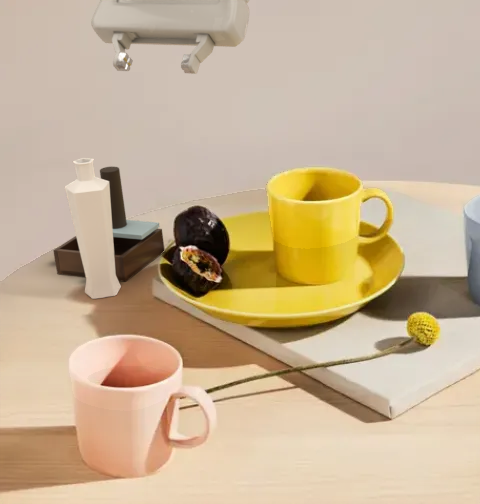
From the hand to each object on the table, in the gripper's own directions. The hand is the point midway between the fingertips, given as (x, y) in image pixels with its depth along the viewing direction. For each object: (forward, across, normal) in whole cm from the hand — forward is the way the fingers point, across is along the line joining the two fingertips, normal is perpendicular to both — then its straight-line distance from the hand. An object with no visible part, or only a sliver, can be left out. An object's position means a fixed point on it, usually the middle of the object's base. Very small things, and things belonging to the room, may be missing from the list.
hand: (154, 69), depth 117 cm
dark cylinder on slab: (+20, 0, +3) cm, 21 cm away
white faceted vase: (+30, +3, -2) cm, 30 cm away
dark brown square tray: (+24, 0, +4) cm, 25 cm away
